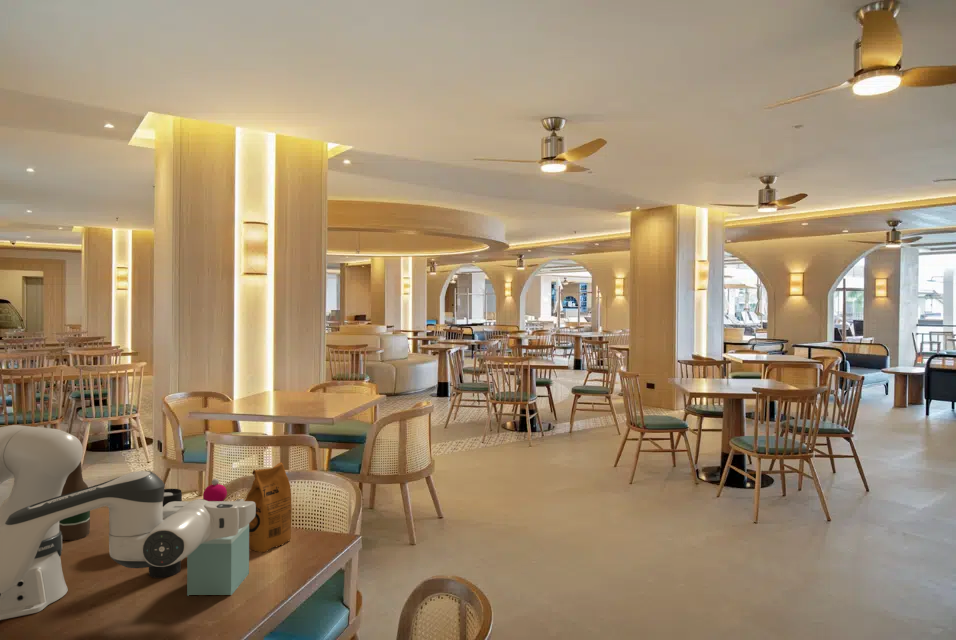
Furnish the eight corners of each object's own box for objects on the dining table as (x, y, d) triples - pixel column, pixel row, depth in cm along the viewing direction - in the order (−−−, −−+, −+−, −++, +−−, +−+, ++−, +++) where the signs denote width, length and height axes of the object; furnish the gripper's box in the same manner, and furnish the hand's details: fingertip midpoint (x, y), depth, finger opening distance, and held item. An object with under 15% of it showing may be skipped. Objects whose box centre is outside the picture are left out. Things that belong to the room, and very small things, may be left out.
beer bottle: (72, 531, 181) (73, 450, 181) (96, 532, 180) (96, 451, 180) (51, 540, 174) (51, 456, 174) (75, 542, 173) (75, 457, 172)
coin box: (231, 595, 141) (231, 539, 140) (187, 595, 140) (187, 539, 140) (248, 573, 152) (249, 521, 152) (208, 573, 152) (208, 521, 152)
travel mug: (140, 575, 151) (140, 495, 151) (165, 564, 158) (166, 487, 158) (163, 580, 148) (164, 498, 148) (188, 568, 155) (189, 490, 155)
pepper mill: (234, 547, 170) (234, 475, 169) (220, 557, 162) (220, 482, 162) (209, 546, 170) (209, 474, 170) (194, 556, 163) (195, 481, 163)
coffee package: (236, 548, 169) (237, 469, 169) (271, 534, 180) (272, 460, 180) (261, 555, 164) (262, 473, 164) (296, 540, 175) (296, 464, 175)
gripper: (148, 536, 133) (177, 515, 147) (243, 535, 134) (263, 515, 147) (148, 507, 133) (177, 489, 147) (243, 507, 134) (263, 489, 147)
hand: (221, 502), depth 147 cm, fingers open, 8 cm apart
